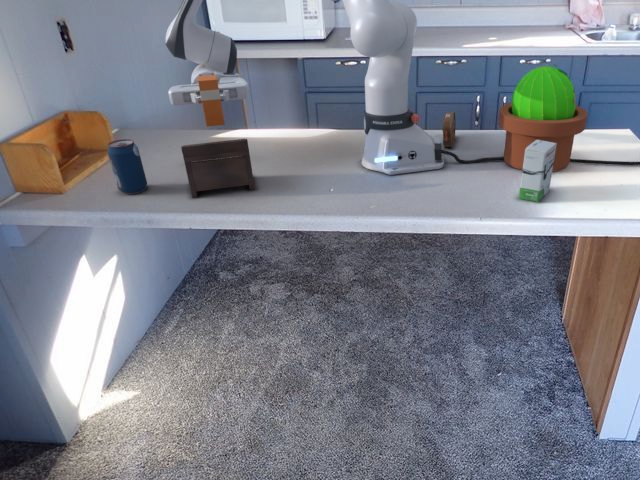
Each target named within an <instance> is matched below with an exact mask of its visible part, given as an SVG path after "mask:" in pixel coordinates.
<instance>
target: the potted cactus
mask: <svg viewBox="0 0 640 480" xmlns="http://www.w3.org/2000/svg"><path fill="white" fill-rule="evenodd" d="M554 66H555V67H554ZM554 66H548V63H547V64H545V66H539V65H536V68H533V69H531V70H530V71H529V72H527V73H526V74H525V75H523V76H522V77H521V78H520V79H519V81H518V83H516V86H515V87H514V90H512V89H511V90H512V92H513V93H512V98H511V102H508V103H506V104H503V105H502V106H501V107H500V108H499V110H498V111H499V112H498V121H497V123H498V126H499V128H501V129H502V131H503V130H504V131H505V141H504V149H503V157H504V160H503V161H504V163H505V164H507V165H508V166H509V167H511V168H514V169H517V170H521V171H522V170H523V162H524V155H525V149H526V148H527V147H528V146H529V145H530V144H532V143H533V142H534V141H536V140H542V141H548V142H553V143H557V145H556V151H555V157H554V163H553V169H552V172H558V171H561V170H564V169H566V168H567V167H568V166H569V165H570V163H571V162H570V159H572V152H573V145H574V141H575V136H576V135H579V134H581V133H583V132H584V131H585V129H586V126H587V120H588V116H589V115H588V114H589V113H588V111H587V110H586V109H585V108H583V107H581V106H579V105H576V104H577V103H576V102H577V99H576V96H577V95H576V92H575V87H574V85H573V84H574V81H572V79H573V78H571V77H570V75H568V73H567V72H566V71H565V70H563V69H562V68H561V67H560V66H558V65H556V64H554Z"/></svg>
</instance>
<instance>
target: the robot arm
mask: <svg viewBox="0 0 640 480" xmlns="http://www.w3.org/2000/svg"><path fill="white" fill-rule="evenodd" d="M203 1H204V0H182V1H181V4H180V7H179V8H178V11H177V12H176V15H175V16H174V18H173V20H172V21H171V22H170V24H169V25H168V28H167V30H166V33H165V46H166V48H167V50H168V51H169V52H170V54H171V55H172V56H173V57H174V58H176V59H180V60H185V61H189V62H191V63H195V64H198V65H197V66H195V68H194V69H193V71H192V73H191V77H190V84H180V85H178V84H177V85H173V86H171V87H170V88H169V89H168V91H167V92H168V93H167V94H168V98H169V102H170V105H172V106H183V105H194V104H195V105H202V100H201V95H200V89H199V84H198V77H197V76H208V75H216V77H217V81H218V87H219V93H220V99H221V104H224V103H225V102H229V101H237V100H248V99H250V98H251V91H250V85H249V83H248V81H247V80H245V78H243V77H241V75H240V73H237V72H234V71H235V68H236V65H237V59H238V49H237V46H236V43H235V41H234V39H233V37H231V36H228V35H225V34H223V33H221V32H219V31H216V30H213V29H210V28H207V27H206V26H202V25H200V24H198V23H196V22H195V21H194V19H195V17H196V15H197V13H198V11H199V10H200V7H201V6H202V4H203V3H202V2H203ZM341 2H342V4H343V8H344V10H345V13H346V16H347V20H348V23H349V26H350V33H349V34H350V35H349V36H350V40H351V43H352V45H353V48H354V49H355V51H357V52H358V53H359V54H360V55H361V56H364V57H367V58H369V62H368V67H367V71H366V74H365V76H364V102H365V104H364V105H365V109H364V111H363V130H364V133H365V140H364V148H363V155H362V158H361V162H360V164H361V166H362V167H363V168H365V169H368V170H371V171H375V172H379V173H383V174H385V175H388V176H393V175H400V174H401V175H402V174H410V173H418V172H425V171H431V170H440V169H443V168H444V166H445V158H444V156H443V155H448V156H450V157H453V158H454V159H455V160H454V161H456V162H457V163H459V164H466V165H468V164H479V163H482V162H497V161H498V162H499V161H504V156H494V157H493V156H492V157H491V156H490V157H482V158H476V159H470V160H465V159H461V158H459V157H458V155H457V154H455V152H452V151H449V150H444V149H443V147H442V146H443V144H442V143H440V142H435V140H434V139H433V137H432V136H431V135H430V134H429V133H428V132H427V131H425V130H424V129H423V128H421V127H420V125H417V124H418V123H419V122H420V116H419V114H417V113H416V112H414V111H413V110H412V109H409V78H410V70H411V63H412V58H413V57H412V56H413V51H414V50H413V49H414V43H415V42H414V41H415V35H416V32H417V29H418V20H417V16H416V13H415V12H414V11H413V9H412V8H411V7H410V6H408V5H407V4H405V3H403V2H400V1H390V0H341ZM570 163H576V164H579V163H580V164H590V165H610V166H614V165H615V166H640V161H621V160H620V161H619V160H597V159H584V158H583V159H581V158H570Z"/></svg>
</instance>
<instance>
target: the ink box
mask: <svg viewBox="0 0 640 480" xmlns="http://www.w3.org/2000/svg"><path fill="white" fill-rule="evenodd" d="M556 145H557V143H553V142H548V141H542V140H536V141H534V142H533V143H532V144H530V145H529V146H528V147H527V148H526V149H525V155H524V162H523V170H521V172H522V173H521V179H520V187H519V194H518V199H520V200H526V201H531V202H536V203H539V202H540V201H541V200H542V199H543V198H544V197H545V195H547V193H549V191H550V187H551V180H552V175H553V171H552V169H553V163H554V157H555V151H556Z"/></svg>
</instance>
